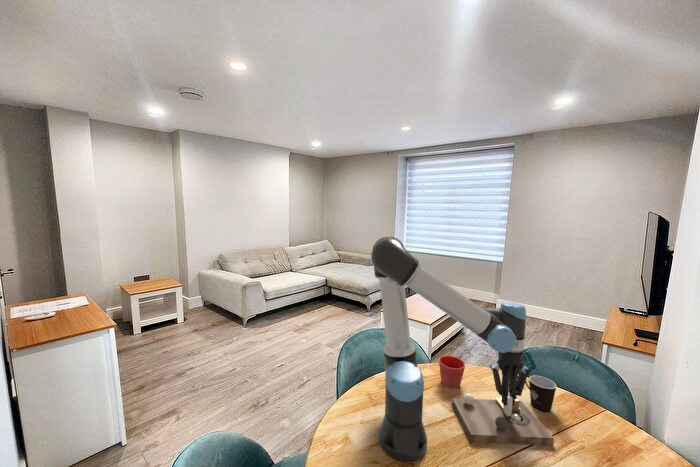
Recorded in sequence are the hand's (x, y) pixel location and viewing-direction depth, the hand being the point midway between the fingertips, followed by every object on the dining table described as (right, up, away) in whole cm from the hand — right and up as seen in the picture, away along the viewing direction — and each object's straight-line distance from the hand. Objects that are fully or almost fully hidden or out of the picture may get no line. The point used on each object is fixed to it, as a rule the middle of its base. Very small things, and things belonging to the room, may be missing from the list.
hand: (507, 413), depth 99 cm
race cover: (+3, -1, +6) cm, 7 cm away
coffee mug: (+18, -4, +11) cm, 21 cm away
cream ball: (-11, +1, +6) cm, 13 cm away
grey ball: (-5, 0, -6) cm, 8 cm away
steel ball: (+3, -2, 0) cm, 4 cm away
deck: (-3, -4, 0) cm, 5 cm away
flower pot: (-11, -2, +24) cm, 26 cm away
